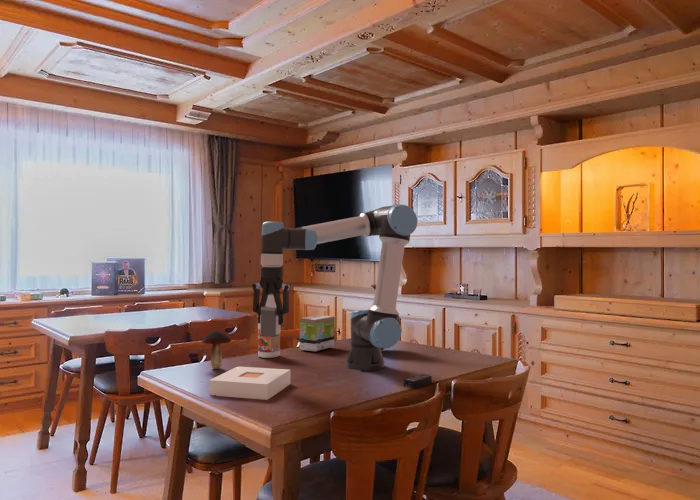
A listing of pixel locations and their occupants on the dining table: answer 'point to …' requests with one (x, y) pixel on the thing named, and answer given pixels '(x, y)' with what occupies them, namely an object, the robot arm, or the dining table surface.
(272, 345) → the fruit juice
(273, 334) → the plug
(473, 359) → the dining table surface
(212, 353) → the decorative mushroom
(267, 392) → the socket
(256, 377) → the shutter
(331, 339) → the tea box
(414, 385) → the multiport hub
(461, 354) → the dining table surface
